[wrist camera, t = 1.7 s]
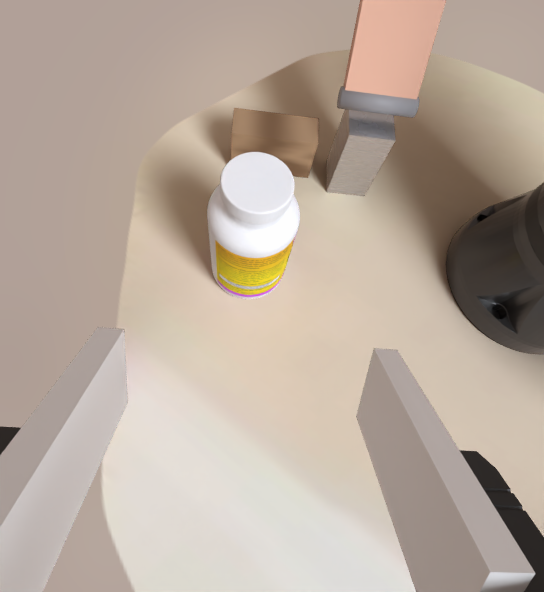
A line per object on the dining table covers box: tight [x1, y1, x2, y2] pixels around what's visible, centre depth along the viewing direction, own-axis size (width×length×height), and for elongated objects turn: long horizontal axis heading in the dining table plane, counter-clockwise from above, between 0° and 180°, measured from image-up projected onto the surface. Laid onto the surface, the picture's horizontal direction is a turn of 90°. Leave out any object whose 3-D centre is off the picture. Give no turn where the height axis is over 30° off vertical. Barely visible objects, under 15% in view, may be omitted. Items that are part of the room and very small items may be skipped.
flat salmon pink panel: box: [337, 0, 446, 118], centre depth 29 cm, size 6×11×2 cm
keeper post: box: [327, 109, 395, 196], centre depth 37 cm, size 4×4×8 cm
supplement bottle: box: [207, 152, 300, 299], centre depth 30 cm, size 7×7×13 cm
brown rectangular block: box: [231, 108, 319, 178], centre depth 38 cm, size 8×3×5 cm, turn 87°
